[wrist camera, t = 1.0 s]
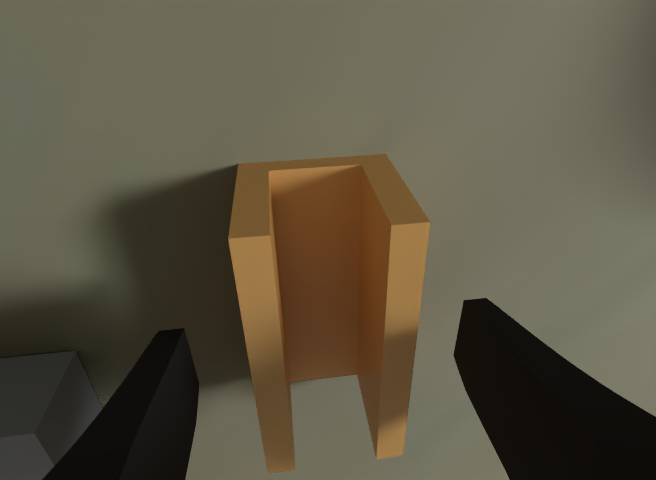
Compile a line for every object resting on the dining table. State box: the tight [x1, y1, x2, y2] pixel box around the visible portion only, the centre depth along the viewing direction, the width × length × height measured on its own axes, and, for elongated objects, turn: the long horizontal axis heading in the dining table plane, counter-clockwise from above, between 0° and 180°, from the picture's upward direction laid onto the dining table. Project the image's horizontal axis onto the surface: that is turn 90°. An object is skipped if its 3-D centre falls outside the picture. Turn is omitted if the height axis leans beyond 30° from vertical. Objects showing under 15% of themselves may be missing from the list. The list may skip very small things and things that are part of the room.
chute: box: [228, 154, 430, 473], centre depth 12 cm, size 8×4×4 cm, turn 1°
